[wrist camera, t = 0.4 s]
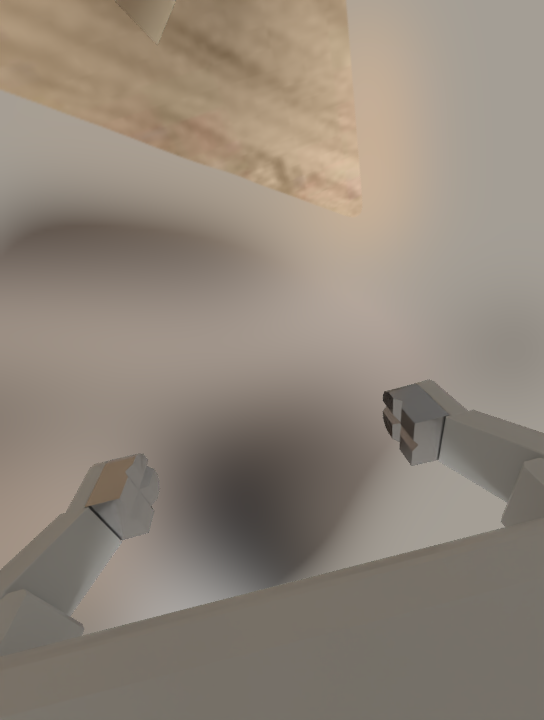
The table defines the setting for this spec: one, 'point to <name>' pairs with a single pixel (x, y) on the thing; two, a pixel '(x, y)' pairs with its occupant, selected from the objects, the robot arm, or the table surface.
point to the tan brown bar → (149, 15)
